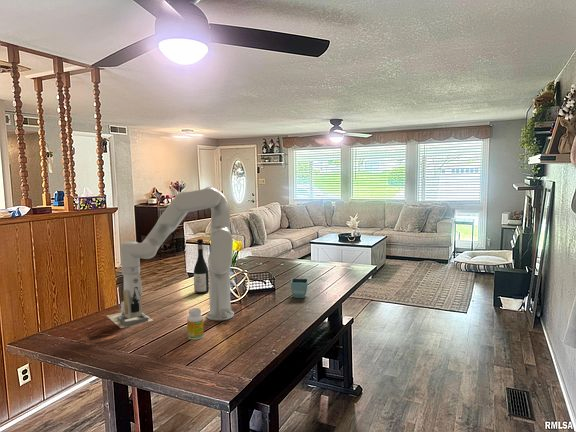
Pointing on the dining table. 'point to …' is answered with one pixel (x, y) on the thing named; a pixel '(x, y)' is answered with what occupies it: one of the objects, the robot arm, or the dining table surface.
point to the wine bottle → (201, 272)
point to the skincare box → (128, 306)
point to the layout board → (126, 322)
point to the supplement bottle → (195, 324)
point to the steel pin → (122, 308)
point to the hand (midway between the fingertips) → (133, 310)
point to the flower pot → (299, 287)
